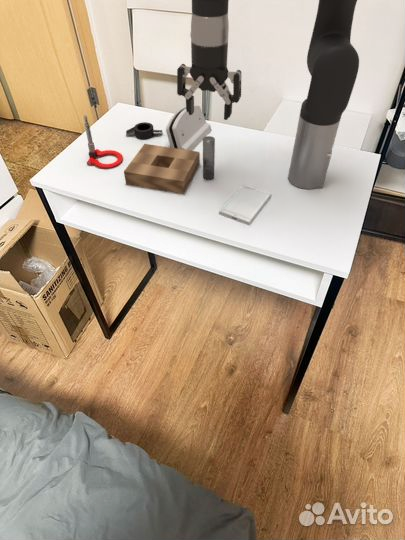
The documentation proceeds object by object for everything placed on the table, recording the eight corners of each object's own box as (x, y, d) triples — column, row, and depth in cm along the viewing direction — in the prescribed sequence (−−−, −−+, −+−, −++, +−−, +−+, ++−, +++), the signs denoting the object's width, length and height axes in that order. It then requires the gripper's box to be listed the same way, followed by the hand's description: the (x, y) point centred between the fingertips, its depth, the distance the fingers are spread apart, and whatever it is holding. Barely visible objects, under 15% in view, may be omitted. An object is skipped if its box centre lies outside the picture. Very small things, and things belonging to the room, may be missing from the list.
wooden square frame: (199, 164, 105) (199, 151, 102) (184, 194, 96) (183, 181, 93) (146, 156, 108) (144, 143, 105) (126, 184, 99) (123, 171, 96)
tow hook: (127, 155, 110) (96, 151, 110) (121, 112, 100) (88, 108, 101) (117, 172, 104) (85, 167, 105) (110, 128, 94) (75, 123, 95)
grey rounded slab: (187, 156, 108) (174, 122, 102) (173, 157, 111) (160, 124, 105) (212, 129, 118) (202, 97, 112) (199, 131, 121) (189, 100, 115)
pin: (215, 174, 102) (216, 137, 94) (212, 181, 100) (213, 143, 92) (204, 173, 102) (204, 135, 94) (201, 179, 101) (201, 141, 92)
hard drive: (242, 184, 97) (218, 210, 90) (271, 193, 95) (249, 221, 87) (241, 189, 99) (218, 215, 92) (270, 199, 96) (249, 227, 89)
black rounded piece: (139, 126, 120) (138, 117, 118) (165, 134, 117) (164, 125, 115) (124, 137, 116) (122, 128, 114) (150, 146, 113) (149, 136, 110)
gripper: (247, 35, 77) (241, 112, 90) (182, 29, 80) (184, 105, 92) (239, 48, 73) (234, 127, 85) (170, 41, 75) (174, 119, 87)
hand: (208, 116), depth 89 cm, fingers open, 8 cm apart
